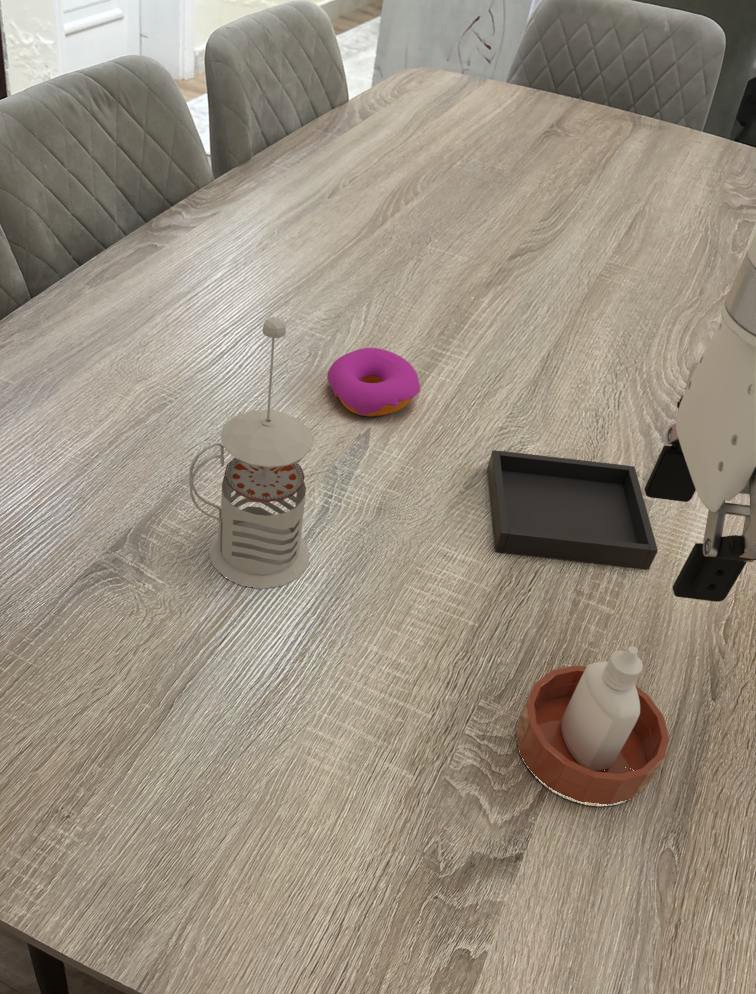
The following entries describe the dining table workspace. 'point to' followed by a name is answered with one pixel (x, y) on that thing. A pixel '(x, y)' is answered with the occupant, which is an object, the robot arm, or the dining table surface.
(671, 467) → the robot arm
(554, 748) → the bowl
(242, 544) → the french press
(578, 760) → the eye dropper bottle
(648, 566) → the tray
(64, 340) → the dining table surface
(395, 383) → the donut
